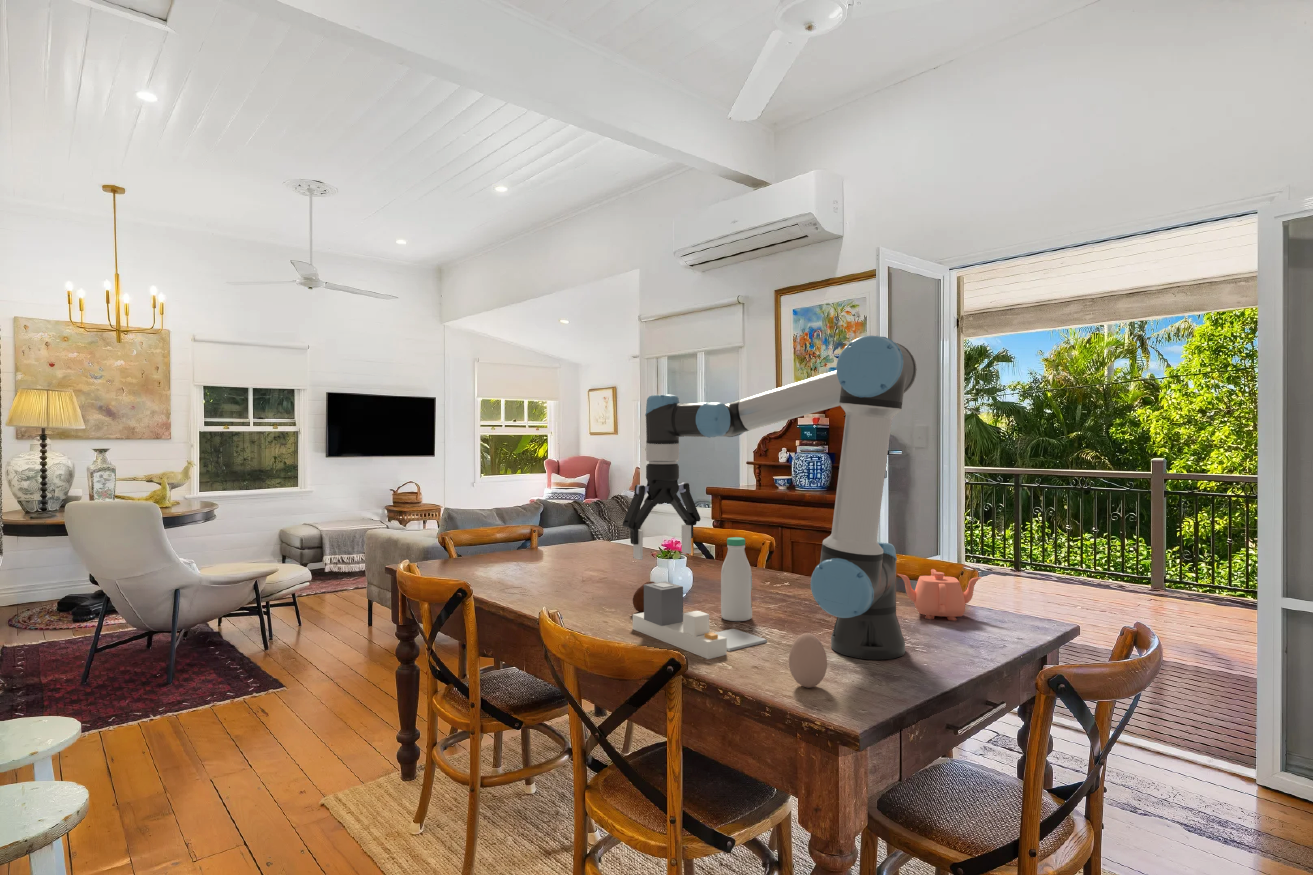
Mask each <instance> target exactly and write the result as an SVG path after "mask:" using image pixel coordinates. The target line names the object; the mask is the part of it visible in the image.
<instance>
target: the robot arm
mask: <svg viewBox="0 0 1313 875" xmlns="http://www.w3.org/2000/svg"><path fill="white" fill-rule="evenodd" d="M835 366H836V367H835V368H836V369H835V370H833V371H830V372H826V373H823V374H819V375H816V376H814V377H809V378H807V379H804V380H800V381H797V382H794V383H790V384H787V385H785V386H781V387H777V388H774V389H772V390H768V391H764V392H761V393H758V394H755V395H752V396H748V397H745V398H742V399H739V400H736V401H731V402H729V403H723V402H714V401H707V402H694V403H693V402H690V403H682V402H680V398H679V396H678V395H676V394H675V395H674V394H652V395H649V396H648V397H647V398H646V403H645V404H646V406H645V407H646V408H645V415H644V416H645V426H646V428H645V430H646V432H645V434H646V436H645V438H646V441H645V460H646V462H648V463H647V464H646V465H645V479H646V481H647V483H646V485H643V484H636V485H635V486H634V491H633V492H634V493H633V496H632V499H631V501H630V503H629V506H628V508H627V512H626V514H625V517H624V518H623V522H622V525H621V526H623V528H627V529H628V530H630V532H629V533H630V544H631V545H632V547H633V548H632V550H633V551H632V552H633V554H632V557H633V558H632V559H636V560H639V561H643V559H644V552H643V551H644V550H643V549H644V548H643V547H644V545H643V543H644V535H643V534H644V532H643V531H644V530H643V529H641V528H642V525H643V524H644V522H646V519H647V518H648V516H649V515H650V513H651V512H652V511H653V509H654V507H656V506H657V505H663V504H669V505H671V506H672V508H673V509H674V510H675V512H676V513H677V514H678V516H679V517H680V518H681V520H682V521H683V522H684V523H683V524H681V553H683V554H692V539H693V538H694V526H696V525H697V523H698V522H700V521H701V516H700V513H699V510H698V508H697V506H696V504H695V501H694V499H693V496H692V494H691V489H690V483H688V482H678V480H679V478H680V464H678V463H677V462H679V461H680V438H683V437H686V438H687V437H691V438H697V437H698V438H716V437H717V438H718V437H719V438H720V437H726V438H734V437H739V436H741V435H743V434H745V433H746V432H748V431H752V430H756V429H759V428H764V427H767V426H771V425H773V424H774V425H775V424H779V423H781V422H786V421H789V420H792V419H795V418H799V417H804V416H806V415H807V416H808V415H810V414H814V413H818V412H822V411H825V410H828V409H832V408H836V407H841V409H842V410H843V411H844V412H845V418H844V428H843V436H842V444H841V452H840V460H839V466H838V468H839V469H838V477H837V485H836V491H835V492H836V493H835V502H834V510H833V517H832V518H833V519H832V527H831V534H830V535H829V536H827V537H826V538H824V539H823V540H822V544H821V551H820V560H819V563H818V564H817V565H816V566H815V568H814V570H813V572H812V574H811V578H810V591H811V593H812V596H813V599H814V600H815V602H816V603H817V604H818V606H819V607H820V608H821V609H822V610H823V611H825V613H827V614H829V615H831V616H834V617H836V621H835V623H834V627H833V630H832V633H831V634H830V635H831V636H830V647H831V649H832V650H833V651H834V652H835V653H838V654H840V655H844V656H847V657H851V658H856V659H863V660H876V661H877V660H878V661H879V660H883V661H884V660H891V659H897V658H900V657H902V656H904V655H905V654H906V641H905V638H904V636H903V632H902V629H901V626H900V623H899V619H898V617H897V560H898V557H897V553H896V552H897V551H896V548H895V546H894V545H893V544H892V543H889V542H881V541H877V540H878V533H879V532H878V531H879V524H880V517H881V516H880V515H881V508H882V500H883V494H884V493H883V492H884V483H885V475H886V467H887V461H888V452H889V446H890V445H889V443H890V437H891V436H890V435H891V429H892V423H893V422H892V420H893V418H894V417H896V415H898V414H899V413H900V412H902V408H903V400H904V394H905V393H906V392H908V391H909V390H910V389H911V387H912V386H913V384H914V382H915V379H916V378H917V371H918V370H917V369H918V368H917V364H916V359H915V357H914V355H913V353H912V352H911V351H910V350H909V349H908V348H906V347H905V346H904V345H902V344H900V343H897V342H895V341H893V340H892V339H891V338H888V337H886V336H879V335H863V336H860V337H858V338H856V339H854V340H853V339H852V341H851V342H849V343H847V344H846V346H844V348H843V349H842V350H841V352H840V354H839V355H838V359H837V360H836V365H835ZM678 492H679V494H680V496H678ZM645 495H647V496H646V498H645ZM680 497H681V498H680ZM681 499H682V501H681Z"/></svg>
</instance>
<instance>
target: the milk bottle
mask: <svg viewBox="0 0 1313 875" xmlns="http://www.w3.org/2000/svg"><path fill="white" fill-rule="evenodd" d="M726 544H727V546H726V547H727V551H726V552H727V553H726V556H725V558H724V560H723V564H722V566H721V571H720V615H721V618H722V619H723V620H725V621H730V622H746V621H749V620H751V619H752V617H753V578H752V577H753V576H752V568H751V565H750V563H749V560H748V558H747V555H746V550H745V548H746V539H745V538H744V537H739V536H735V537H727V539H726Z"/></svg>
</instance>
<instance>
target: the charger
mask: <svg viewBox="0 0 1313 875" xmlns="http://www.w3.org/2000/svg"><path fill="white" fill-rule="evenodd" d="M644 584H645V583H644ZM683 613H684V586H682V585H679V584H675V583H672V582H668V581H659V582H655V583H652V584H645V585H644V620H647V621H649V622H652V623H655V624H657V625H660V626H665V625H670V624H675V623H680V622H682V623H683Z"/></svg>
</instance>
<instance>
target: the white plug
mask: <svg viewBox="0 0 1313 875" xmlns="http://www.w3.org/2000/svg"><path fill="white" fill-rule="evenodd" d="M682 623H683V632H685V633H688V634H690V635H693V636H698V635H702V634H705V633H708V632H710V614H709V613H706V612H704V611H702V610H701V611H700V610H693V611H688V612H687V611H686V612H683V622H682Z"/></svg>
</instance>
